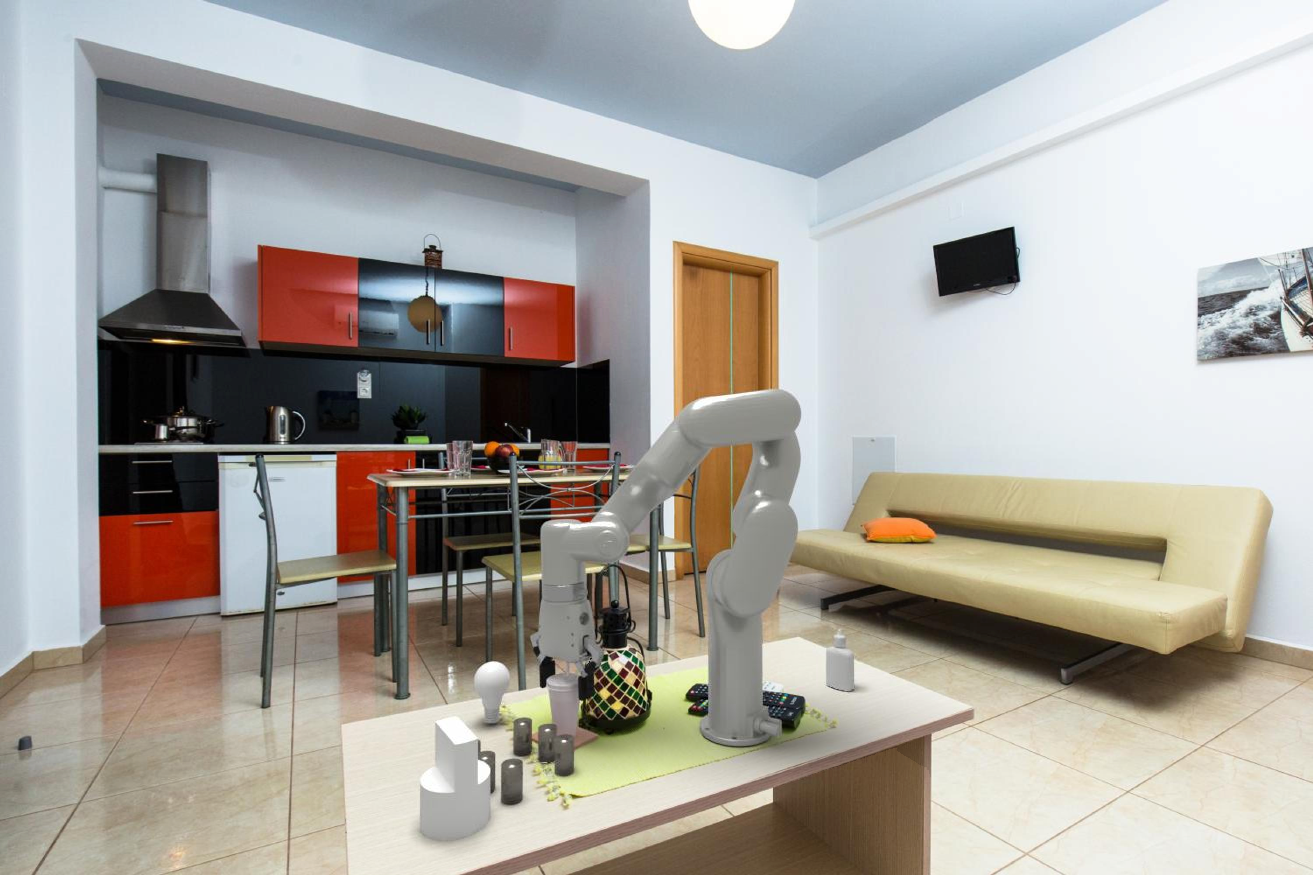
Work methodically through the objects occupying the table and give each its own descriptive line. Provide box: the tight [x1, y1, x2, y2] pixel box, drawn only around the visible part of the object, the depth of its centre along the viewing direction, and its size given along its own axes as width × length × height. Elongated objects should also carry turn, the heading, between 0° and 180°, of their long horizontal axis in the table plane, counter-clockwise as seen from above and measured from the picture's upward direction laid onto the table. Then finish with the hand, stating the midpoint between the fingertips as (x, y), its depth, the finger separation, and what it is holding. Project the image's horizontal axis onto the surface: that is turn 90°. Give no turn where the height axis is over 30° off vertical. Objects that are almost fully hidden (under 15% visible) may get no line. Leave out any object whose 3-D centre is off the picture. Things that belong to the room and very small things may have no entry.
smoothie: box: [545, 662, 581, 738], centre depth 109 cm, size 6×6×14 cm
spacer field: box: [478, 716, 575, 806], centre depth 97 cm, size 13×15×5 cm
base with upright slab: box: [419, 716, 491, 841], centre depth 85 cm, size 9×9×12 cm
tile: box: [532, 726, 599, 751], centre depth 109 cm, size 9×8×1 cm
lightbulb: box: [473, 661, 511, 725], centre depth 115 cm, size 6×6×11 cm
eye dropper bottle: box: [825, 628, 855, 692], centre depth 132 cm, size 4×6×12 cm
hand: (566, 691), depth 109 cm, fingers open, 9 cm apart
